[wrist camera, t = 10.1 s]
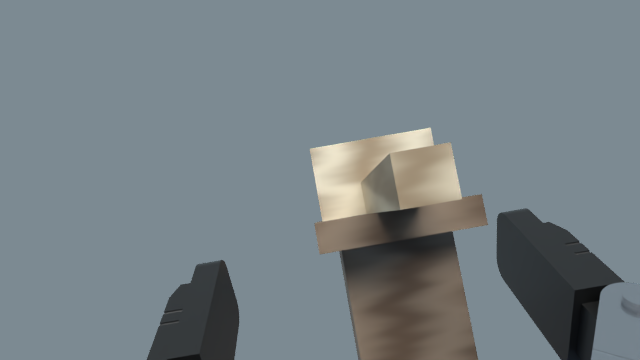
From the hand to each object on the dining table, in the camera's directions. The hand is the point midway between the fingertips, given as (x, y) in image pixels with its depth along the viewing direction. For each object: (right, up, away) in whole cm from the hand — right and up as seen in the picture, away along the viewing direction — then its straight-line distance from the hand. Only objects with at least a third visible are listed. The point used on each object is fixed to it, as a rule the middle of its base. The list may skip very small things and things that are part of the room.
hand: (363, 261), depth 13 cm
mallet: (+4, 0, +18) cm, 18 cm away
